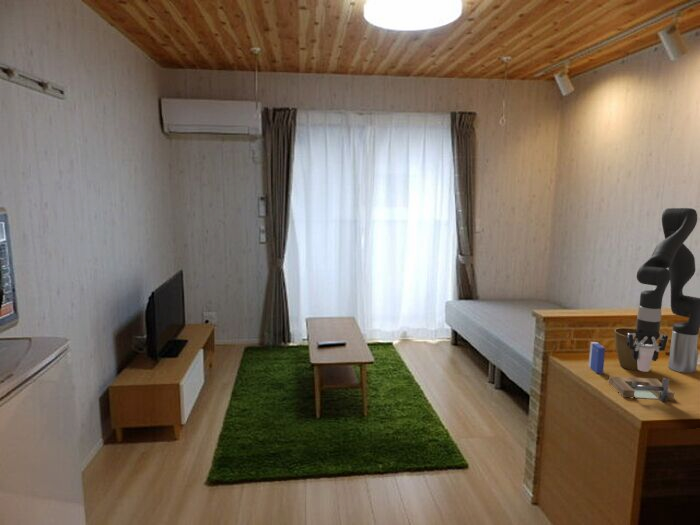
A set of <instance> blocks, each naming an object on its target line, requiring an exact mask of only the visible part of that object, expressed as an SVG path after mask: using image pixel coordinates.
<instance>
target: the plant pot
mask: <svg viewBox="0 0 700 525" xmlns="http://www.w3.org/2000/svg"><path fill="white" fill-rule="evenodd" d="M635 332H636V328H632V327H631V328H630V327H618V328H615V329H614V342H615V349H616V355H617V358H618V363H619V365H620V366H621V367H622V368H624V369H628V370H633V371H634V370H636V369H637V370H638V363H637V360H634V359H633V357H632V349H630V348H629V347H627V333H635ZM636 339H637V338H636V336H635V337H634V339H633V345H634V342H635V340H636ZM649 345H651V344H649Z"/></svg>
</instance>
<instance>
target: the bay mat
mask: <svg viewBox="0 0 700 525" xmlns="http://www.w3.org/2000/svg"><path fill="white" fill-rule="evenodd" d="M632 389H633V388H632ZM633 390H634V391H635V392H634V397H635V398H634V399H645V398H646V400H647V399H648V400H649V399H650V400H659V399H658V398H657V397H656V396H655V395H654V394H653V393H651V392H650V391H649V390H637V389H633Z"/></svg>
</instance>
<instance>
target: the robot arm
mask: <svg viewBox="0 0 700 525" xmlns="http://www.w3.org/2000/svg"><path fill="white" fill-rule="evenodd" d="M697 222H698V212H697V211H696V209H694V208H691V207H690V208H688V207H682V208H681V207H677V208H676V207H671V208H666V209H664V210H663V212H662V215H661V226H662V231H663V236H664V239H663V240H662V241H660V242H659V243H658V244H656V247H655V248H654V249H653V251H652V254H651V255H650V256H651V257H649V258H648V259H647V260H646V261H645V262H644V263H643V264H641V265H640V267H639V268H638V271H637V273H636V279H637V281H638V282H639V283H640V284H642V285H646V286H648V285H649V286H653V287H654V286H655V287H656V288H655V289H652V290H651V289H650V290H649V289H648V290H643V291H641V292H640V297H639V305H638V309H637V318H636V327H635V329H636V332H635V333H627V347H629V348H630V349H632V357H633V359H634V360H638V349H639V348H640V347H641V346H642V345H643V344H651V345H652V346H654V347H655V351H654V354H653V358H652V361H653V362H656V361H657V360H658V359H659V355H660V354H659V353H660V352H661V351H665V350H666V347H667V342H668V338H669V337H668V335H666V334H664V333H660V330H661V322H662V306H663V297H664V295H665V292H666V289H667V287H668V285H670V310H671V312H672V314H673V315H676V316H679V317H685V318H688V320H687V321H685V322H684V321H683V322H676V323H673V324H672V325H673V326H672V332H671V333H672V334H671V341H670V349H669V357H668V364H667V365H668V366H667V367H668V368H669V369H671V371H676V372H679V373H684V374H685V373H686V374H691V373H692V374H693V373H696V372H697V368H698V367H697V366H698V359H699V350H697V349H698V348H697V347H698V340H699V332H700V297H695V296H690V295H685V294H684V293H683V290H684V287H685V286H686V284H687V283H688V282H689V281H690V280H691V279H692V278H693V276H694V275H695V273H696V259H695V255H694V254H693V252H692V251H691V250H690V249H689V248H688V246H686V245H685V244H684V243H685V241H686V240H687V239H688V238H689V236H690V234H691V235H692V232H694V229H695V228H696V225H697ZM669 283H670V284H669ZM635 336H636V338H637V339H636V340H635V342H634V345H633V339H634V337H635ZM658 339H659V343H658V342H657V340H658ZM636 345H637V346H636Z"/></svg>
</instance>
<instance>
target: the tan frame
mask: <svg viewBox="0 0 700 525" xmlns="http://www.w3.org/2000/svg"><path fill="white" fill-rule="evenodd" d="M632 381H635V382H637V385H643V386H662V382H661V381H660V380H659V379H658V378H650V377H649V378H647V377H646V378H645V377H632V376H631V377H629V376H628V377H627V376H625V377H624V376H612V375H611V376H609V378H608V384H609V383H610V384H609V385H610V386H611V385H612V386H613V387H614V388H615V389H616V390H617V391H618V392H619V393H620V394H621V395H622V396H621V395H620V394H619V393H618V392H617V391H616V390H615V389H614V388H613V387H612V386H611V387H612V388H613V389H614V390H615V391H616V392H617V393H618V394H619V395H620V396H621V397H622V398H624V397H633V398H632V399H635V398H634V392H635V391H634V390H633V389H632ZM649 391H650V392H651V393H653V394H654V395H655V396H656V397H657V398H658V399H657V400H659V401H660V397H661V391H656V390H649ZM674 396H675V392H673V390H672V389H670V387H668V393H667V401H674V400H675V397H674Z"/></svg>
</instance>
